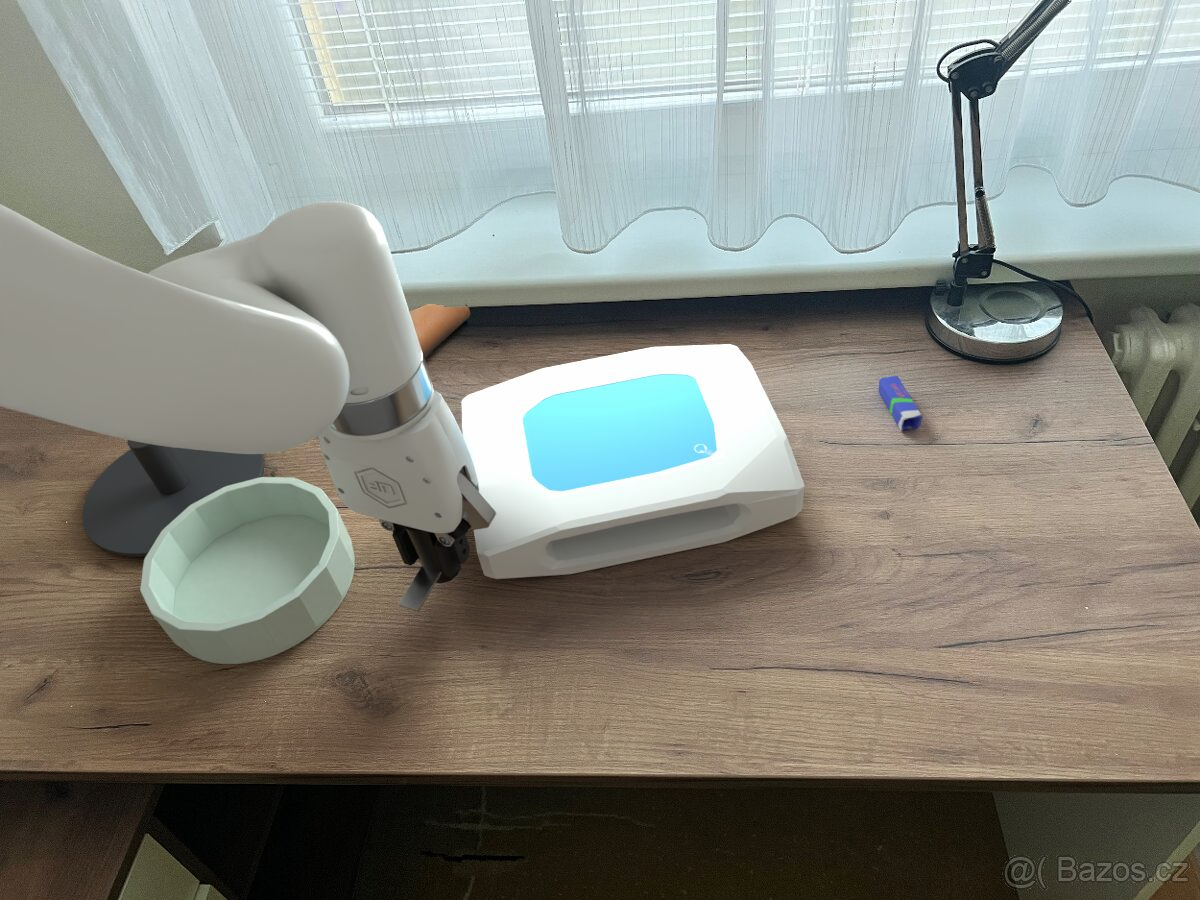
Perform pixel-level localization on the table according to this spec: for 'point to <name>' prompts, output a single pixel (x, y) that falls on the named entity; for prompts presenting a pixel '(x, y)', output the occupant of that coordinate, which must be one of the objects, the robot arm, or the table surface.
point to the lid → (156, 492)
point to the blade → (423, 569)
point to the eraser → (899, 403)
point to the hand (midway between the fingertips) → (437, 555)
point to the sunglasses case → (436, 324)
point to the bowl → (249, 570)
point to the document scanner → (626, 460)
